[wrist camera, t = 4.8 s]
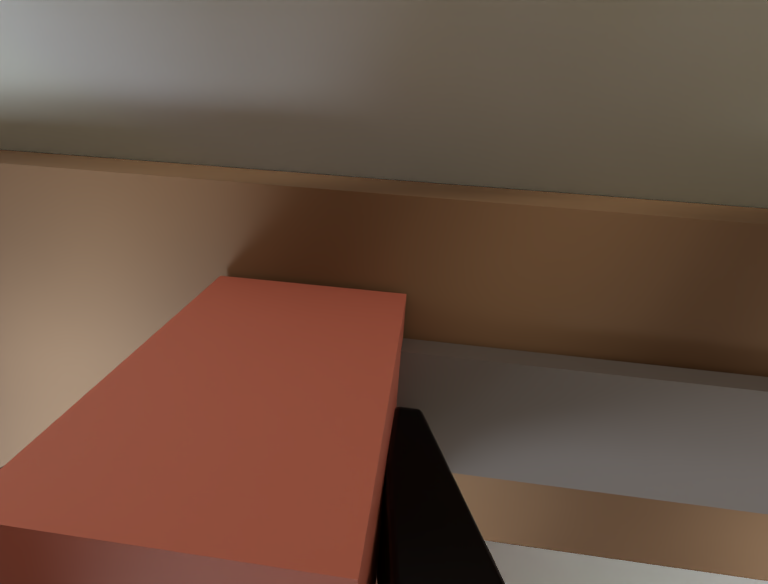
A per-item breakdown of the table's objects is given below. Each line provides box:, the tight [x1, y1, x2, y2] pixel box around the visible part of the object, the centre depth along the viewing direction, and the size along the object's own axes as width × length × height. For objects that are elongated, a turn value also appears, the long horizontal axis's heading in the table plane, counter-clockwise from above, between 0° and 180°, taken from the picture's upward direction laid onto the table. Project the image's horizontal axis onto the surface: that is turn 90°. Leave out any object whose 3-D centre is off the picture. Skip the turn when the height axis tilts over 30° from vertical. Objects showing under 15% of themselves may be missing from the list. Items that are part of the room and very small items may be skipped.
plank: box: [0, 150, 768, 581], centre depth 7 cm, size 22×7×4 cm, turn 87°
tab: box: [0, 276, 768, 584], centre depth 6 cm, size 10×4×4 cm, turn 87°
